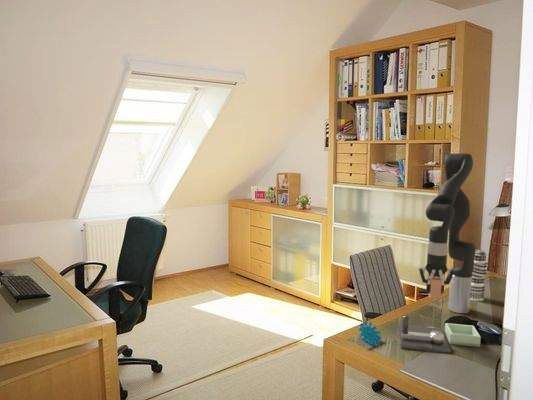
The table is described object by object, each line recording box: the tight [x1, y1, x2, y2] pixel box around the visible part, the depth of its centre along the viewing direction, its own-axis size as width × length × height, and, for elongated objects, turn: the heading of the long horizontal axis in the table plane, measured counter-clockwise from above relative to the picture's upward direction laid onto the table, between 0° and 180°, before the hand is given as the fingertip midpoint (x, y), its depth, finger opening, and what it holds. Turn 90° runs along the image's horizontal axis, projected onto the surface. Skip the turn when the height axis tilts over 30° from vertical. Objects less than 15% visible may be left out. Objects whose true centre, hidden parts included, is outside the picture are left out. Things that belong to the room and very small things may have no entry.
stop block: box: [428, 277, 442, 300], centre depth 181 cm, size 4×4×8 cm
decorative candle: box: [470, 249, 488, 302], centre depth 225 cm, size 9×9×25 cm
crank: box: [402, 314, 445, 344], centre depth 172 cm, size 16×5×9 cm, turn 78°
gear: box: [358, 321, 382, 347], centre depth 174 cm, size 11×6×10 cm
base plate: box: [395, 323, 452, 354], centre depth 177 cm, size 20×18×2 cm
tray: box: [444, 322, 481, 347], centre depth 177 cm, size 11×11×4 cm
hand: (434, 292), depth 181 cm, fingers closed on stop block, 4 cm apart
